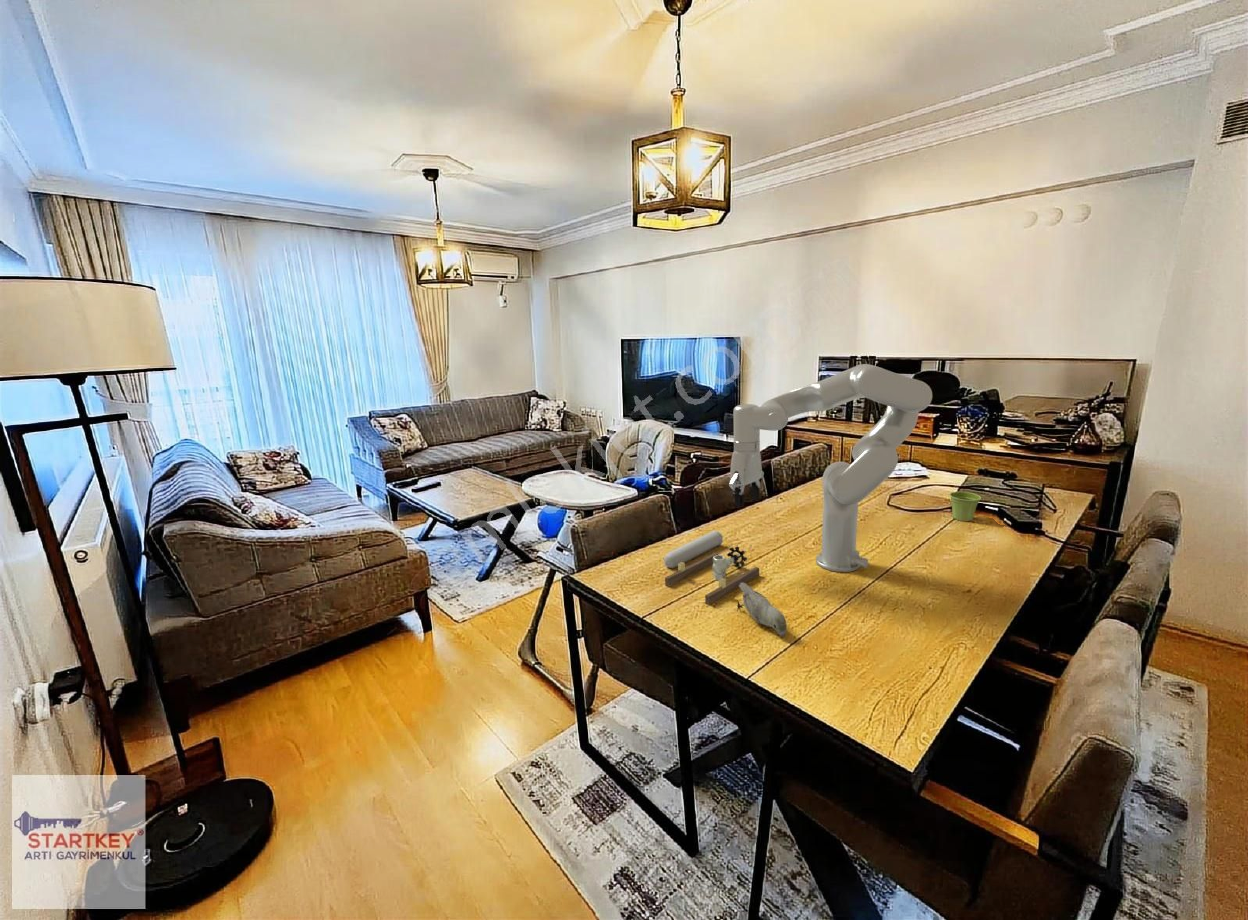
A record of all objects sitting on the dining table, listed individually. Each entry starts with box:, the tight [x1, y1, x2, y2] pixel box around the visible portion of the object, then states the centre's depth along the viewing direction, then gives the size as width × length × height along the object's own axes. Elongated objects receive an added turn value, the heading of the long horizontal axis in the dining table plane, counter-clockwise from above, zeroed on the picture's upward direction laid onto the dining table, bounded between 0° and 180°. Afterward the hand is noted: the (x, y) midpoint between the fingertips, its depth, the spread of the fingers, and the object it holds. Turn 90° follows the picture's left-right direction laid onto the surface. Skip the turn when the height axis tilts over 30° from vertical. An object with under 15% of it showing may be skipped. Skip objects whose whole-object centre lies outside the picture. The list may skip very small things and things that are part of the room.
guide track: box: [664, 552, 760, 606], centre depth 151 cm, size 16×23×5 cm
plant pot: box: [949, 491, 982, 522], centre depth 184 cm, size 9×9×9 cm
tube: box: [663, 529, 724, 569], centre depth 168 cm, size 5×5×25 cm
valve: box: [711, 546, 748, 581], centre depth 155 cm, size 7×7×12 cm
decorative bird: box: [736, 582, 787, 639], centre depth 128 cm, size 5×16×8 cm, turn 25°
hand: (747, 502), depth 157 cm, fingers open, 6 cm apart
